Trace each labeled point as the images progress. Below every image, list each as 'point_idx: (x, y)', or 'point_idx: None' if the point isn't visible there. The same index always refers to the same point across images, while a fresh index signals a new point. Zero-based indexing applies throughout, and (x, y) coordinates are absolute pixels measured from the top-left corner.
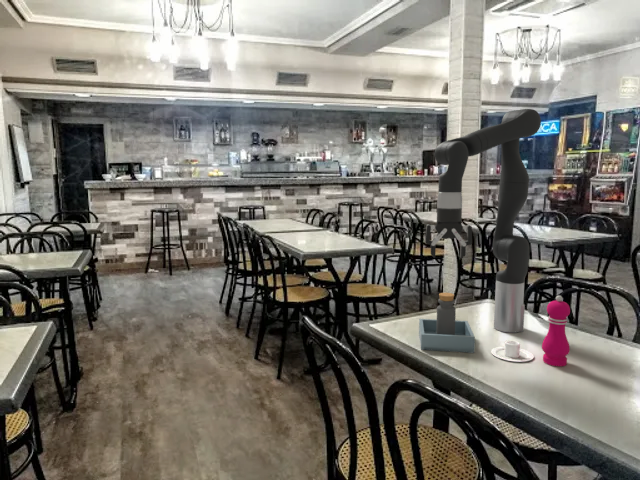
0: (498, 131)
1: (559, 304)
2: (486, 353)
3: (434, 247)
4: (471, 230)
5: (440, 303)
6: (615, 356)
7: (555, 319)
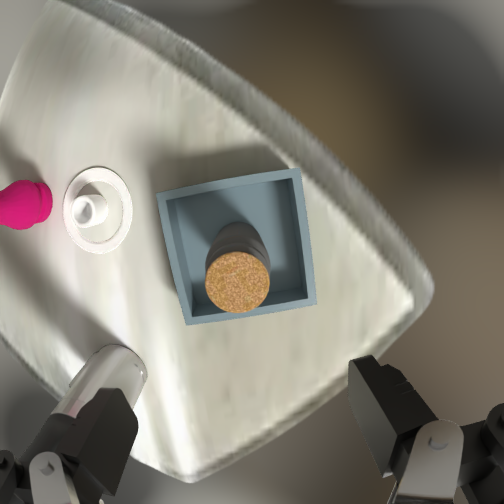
0: None
1: None
2: (142, 199)
3: (404, 418)
4: None
5: (258, 250)
6: None
7: None
